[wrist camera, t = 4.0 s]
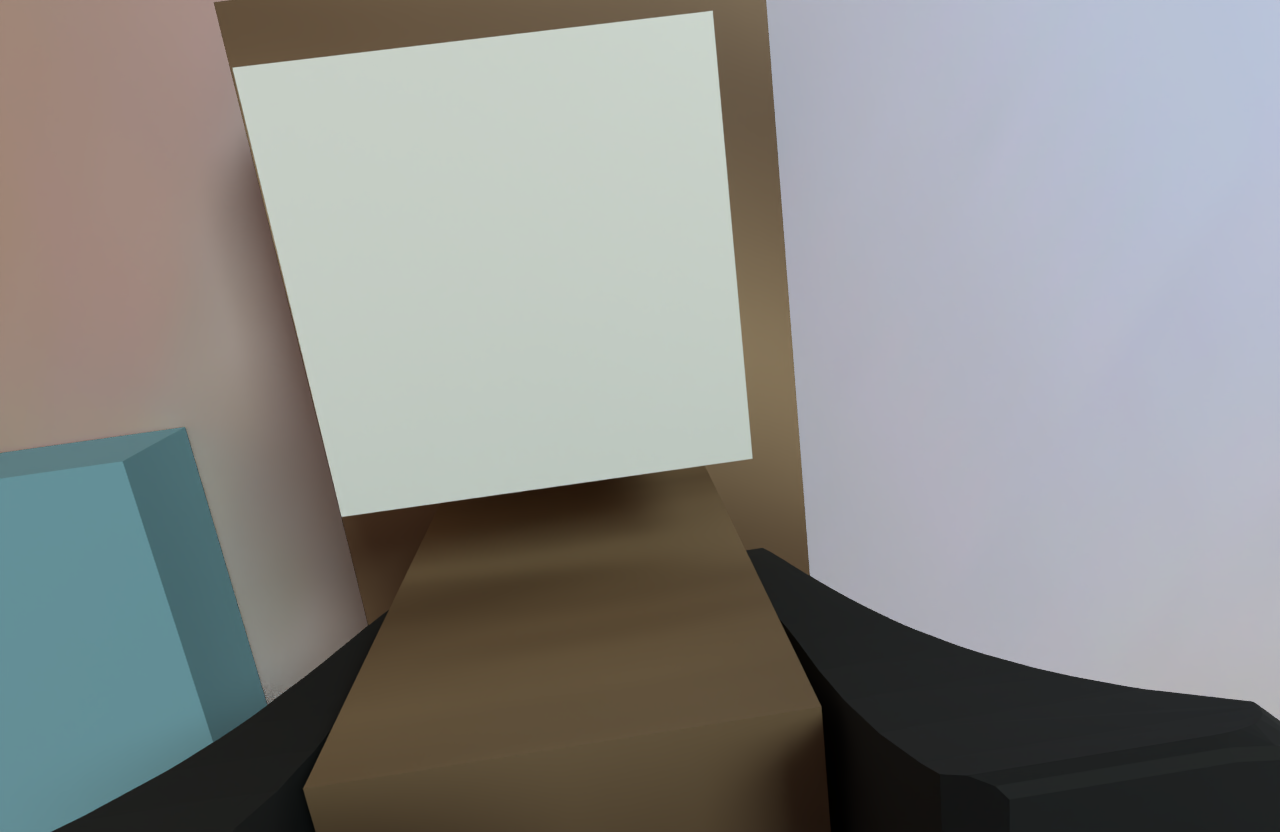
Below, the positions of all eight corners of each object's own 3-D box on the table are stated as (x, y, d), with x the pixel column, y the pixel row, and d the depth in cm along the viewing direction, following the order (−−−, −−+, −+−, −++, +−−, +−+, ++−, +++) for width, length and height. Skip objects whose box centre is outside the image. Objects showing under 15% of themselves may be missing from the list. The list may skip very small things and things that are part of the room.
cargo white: (694, 374, 11) (752, 458, 8) (423, 411, 11) (342, 517, 7) (663, 85, 10) (713, 10, 6) (364, 122, 10) (232, 67, 6)
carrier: (808, 895, 17) (1008, 1498, 9) (489, 948, 17) (405, 1620, 9) (730, -16, 12) (1009, -439, 4) (279, 39, 12) (-326, -303, 4)
